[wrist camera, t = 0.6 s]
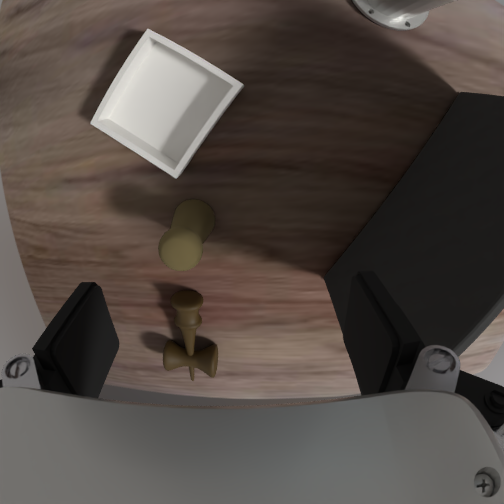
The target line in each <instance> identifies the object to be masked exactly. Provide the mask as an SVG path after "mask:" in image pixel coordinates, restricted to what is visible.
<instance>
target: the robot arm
mask: <svg viewBox="0 0 504 504" xmlns="http://www.w3.org/2000/svg"><path fill="white" fill-rule="evenodd" d="M352 1H353V3H354V4H355V6H356V7H357V8H358V9H359V10H360V12H362V13H363V14H364V15H365V16H366V17H367V18H369V19H370V20H372V21H373V22H375V23H376V24H378V25H380V26H382V27H385V28H388V29H392V30H398V31H402V30H410V29H413V28H416V27H418V26H419V25H421V24H422V23H423V22H424V21H425V20H426V18H427V16H428V14H429V10H432V9H434V8H437V7H440V6H443V5H445V4H448V3H451V2H454V1H457V0H352ZM369 12H370V13H369ZM405 24H406V25H405ZM343 340H344V343H345V346H346V349H347V351H348V354H349V357H350V359H351V362H352V365H353V368H354V370H355V373H356V376H357V379H358V381H359V384H360V387H361V390H362V393H363V395H361V396H354V397H347V398H339V399H331V400H322V401H313V402H302V403H291V404H276V405H257V406H178V405H161V404H146V403H134V402H124V401H116V400H107V399H99V398H98V397H99V394H100V392H101V389H102V387H103V384H104V382H105V380H106V377H107V375H108V372H109V370H110V367H111V365H112V363H113V360H114V358H115V356H116V353H117V351H118V349H119V339H118V337H117V334H116V331H115V328H114V325H113V323H112V320H111V317H110V314H109V311H108V308H107V305H106V302H105V298H104V295H103V292H102V289H101V287H100V286H98V285H97V284H96V283H95V282H82V283H80V284H79V286H78V287H77V288H76V289H75V291H74V292H73V293H72V295H71V296H70V297H69V298H68V300H67V301H66V302H65V304H64V305H63V306H62V308H61V309H60V310H59V312H58V313H57V314H56V316H55V317H54V318H53V320H52V321H51V323H50V324H49V325H48V327H47V328H46V330H45V331H44V332H43V334H42V335H41V337H40V338H39V339H38V341H37V342H36V344H35V345H34V347H33V348H32V349H33V351H34V353H35V355H34V357H32V356H30V355H29V354H18V355H15V356H14V357H12V358H10V359H9V360H8V361H7V362H6V363H5V365H4V367H3V369H2V380H0V504H504V387H502V386H500V385H498V384H495V383H492V382H490V381H487V380H484V379H482V378H479V377H477V376H474V375H471V374H469V373H466V372H464V371H461V370H460V360H459V358H458V356H457V355H456V354H455V353H454V352H453V351H452V350H450V349H449V348H446V347H444V346H440V345H431V346H427V347H426V346H425V345H424V343H423V341H422V340H421V338H420V337H419V335H418V334H417V332H416V331H415V329H414V327H413V326H412V324H411V323H410V321H409V320H408V318H407V317H406V315H405V314H404V312H403V311H402V309H401V308H400V306H399V305H398V304H397V303H396V302H395V301H394V299H393V298H392V296H391V295H390V294H389V292H388V291H387V289H386V288H385V286H384V285H383V284H382V282H381V281H380V279H379V278H378V276H377V275H376V274H375V272H374V271H372V270H370V271H358V272H357V274H356V275H355V276H352V279H351V286H350V294H349V301H348V307H347V314H346V320H345V326H344V332H343Z"/></svg>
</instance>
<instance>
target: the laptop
mask: <svg viewBox="0 0 504 504" xmlns="http://www.w3.org/2000/svg"><path fill="white" fill-rule="evenodd" d="M370 270H372V271H374V272H375V274H376V275H377V276H378V278H379V279H380V281H381V282H382V284H383V285H384V286H385V288H386V289H387V291H388V292H389V294H390V295H391V296H392V298H393V299H394V301H395V302H396V303H397V304H398V305H399V306H400V308H401V309H402V311H403V312H404V314H405V315H406V317H407V318H408V320H409V321H410V323H411V324H412V326H413V327H414V329H415V331H416V332H417V334H418V335H419V337H420V338H421V340H422V341H423V343H424V345H425V346H426V347H427V346H431V345H440V346H444V347H446V348H449V349H450V350H452V351H453V352H454V353H455V354H456V355H457V356H458V357H459V356H460V355H461V354H462V353H463V352H464V351H465V350H466V349H467V348H468V347H469V346H470V345H471V344H472V343H473V342H474V341H475V340H476V339H477V338H478V336H479V335H480V334H481V333H482V332H483V331H484V330H485V329H486V328H487V327H488V326H489V325H490V324H491V322H492V321H493V320H494V319H495V318H496V317H497V316H498V314H499V313H500V312H501V311H502V310H503V309H504V96H496V95H488V94H479V93H468V92H460V93H459V95H458V96H457V98H456V99H455V101H454V103H453V104H452V106H451V107H450V109H449V110H448V112H447V113H446V115H445V117H444V118H443V120H442V121H441V123H440V124H439V126H438V127H437V129H436V130H435V132H434V133H433V135H432V136H431V137H430V139H429V140H428V142H427V143H426V145H425V146H424V148H423V149H422V151H421V152H420V153H419V155H418V156H417V158H416V159H415V160H414V162H413V163H412V165H411V166H410V168H409V169H408V170H407V172H406V173H405V174H404V176H403V177H402V179H401V180H400V181H399V183H398V184H397V185H396V187H395V188H394V189H393V191H392V192H391V193H390V195H389V196H388V197H387V199H386V200H385V201H384V203H383V204H382V205H381V207H380V208H379V209H378V211H377V212H376V213H375V214H374V216H373V217H372V218H371V220H370V221H369V222H368V223H367V225H366V226H365V227H364V229H363V230H362V231H361V232H360V234H359V235H358V236H357V237H356V239H355V240H354V241H353V242H352V244H351V245H350V246H349V247H348V248H347V250H346V251H345V252H344V253H343V255H342V256H341V257H340V258H339V259H338V261H337V262H336V263H335V264H334V266H333V267H332V268H331V269H330V270H329V271H328V273H327V274H326V275H325V276H324V280H325V283H326V286H327V288H328V291H329V294H330V297H331V300H332V303H333V306H334V309H335V312H336V315H337V318H338V321H339V324H340V327H341V330H342V333H343V332H344V326H345V320H346V314H347V307H348V301H349V294H350V286H351V279H352V276H355V275H356V274H357V272H358V271H370ZM354 371H355V370H354ZM355 375H356V373H355ZM356 378H357V376H356ZM357 382H358V385H359V388H360V392H361V395H363V393H362V390H361V387H360V384H359V381H358V379H357Z"/></svg>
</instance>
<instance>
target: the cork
mask: <svg viewBox="0 0 504 504" xmlns="http://www.w3.org/2000/svg"><path fill="white" fill-rule="evenodd" d="M214 225H215V215H214V212H213V210H212V209H211V208H210V206H209V205H208V204H206V203H205V202H203V201H200V200H197V199H190V200H186V201H184V202H182V203H181V204H179V205H178V207H177V208H176V210H175V213H174V216H173V220H172V224H171V227H170V230H168V231H167V232H165V233H164V235H163V236H162V238H161V239H160V242H159V246H158V250H159V256H160V258H161V260H162V261H163V262H164V264H165V265H166V266H168V267H169V268H171V269H173V270H176V271H186V270H190V269H191V268H193V267H195V266H196V265H197V263H198V262H199V261H200V259H201V256H202V253H203V245H202V244H203V243H204V241H205V240H206V238H207V237H208V235H209V234H210V233H211V231H212V230H213V227H214Z"/></svg>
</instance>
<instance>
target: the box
mask: <svg viewBox="0 0 504 504" xmlns="http://www.w3.org/2000/svg"><path fill="white" fill-rule="evenodd" d="M243 87H244V85H243V84H242V83H240V82H239V81H237V80H236V79H234V78H233V77H231V76H230V75H228V74H227V73H225V72H223V71H222V70H220V69H219V68H217V67H215V66H214V65H212V64H211V63H209V62H207V61H206V60H204V59H202V58H201V57H199V56H197V55H195V54H194V53H192V52H190V51H188V50H187V49H185V48H183V47H181V46H180V45H178V44H176V43H174V42H172V41H170V40H169V39H167V38H165V37H163V36H161V35H159V34H157V33H155V32H153V31H151V30H149V29H147V30H146V32H145V33H144V35H143V36H142V37H141V39H140V40H139V42H138V43H137V45H136V46H135V48H134V49H133V50H132V52H131V53H130V55H129V57H128V58H127V60H126V61H125V63H124V64H123V66H122V68H121V69H120V71H119V72H118V74H117V76H116V77H115V79H114V81H113V82H112V84H111V86H110V87H109V89H108V91H107V93H106V95H105V96H104V98H103V100H102V102H101V104H100V105H99V107H98V109H97V111H96V113H95V115H94V117H93V119H92V121H91V123H90V124H92V125H93V126H95V127H97V128H98V129H100V130H101V131H103V132H104V133H106V134H108V135H109V136H111V137H112V138H114V139H115V140H117V141H119V142H120V143H122V144H123V145H125V146H126V147H128V148H130V149H131V150H133V151H134V152H136V153H137V154H139V155H140V156H142V157H144V158H145V159H147V160H148V161H150V162H151V163H153V164H154V165H156V166H157V167H159V168H160V169H162V170H164V171H165V172H167V173H168V174H170V175H171V176H173V177H174V178H176V179H177V178H178V177H179V175H180V174H181V173H182V172H183V171H184V170H185V168H186V167H187V165H188V164H189V162H190V161H191V159H192V158H193V156H194V155H195V153H196V152H197V150H198V149H199V147H200V146H201V144H202V143H203V141H204V140H205V139H206V137H207V136H208V134H209V133H210V131H211V130H212V129H213V127H214V126H215V124H216V123H217V122H218V120H219V119H220V118H221V116H222V115H223V113H224V112H225V111H226V109H227V108H228V107H229V105H230V104H231V103H232V101H233V100H234V99H235V97H236V96H237V95H238V94H239V92H240V91H241V90H242V88H243Z"/></svg>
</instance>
